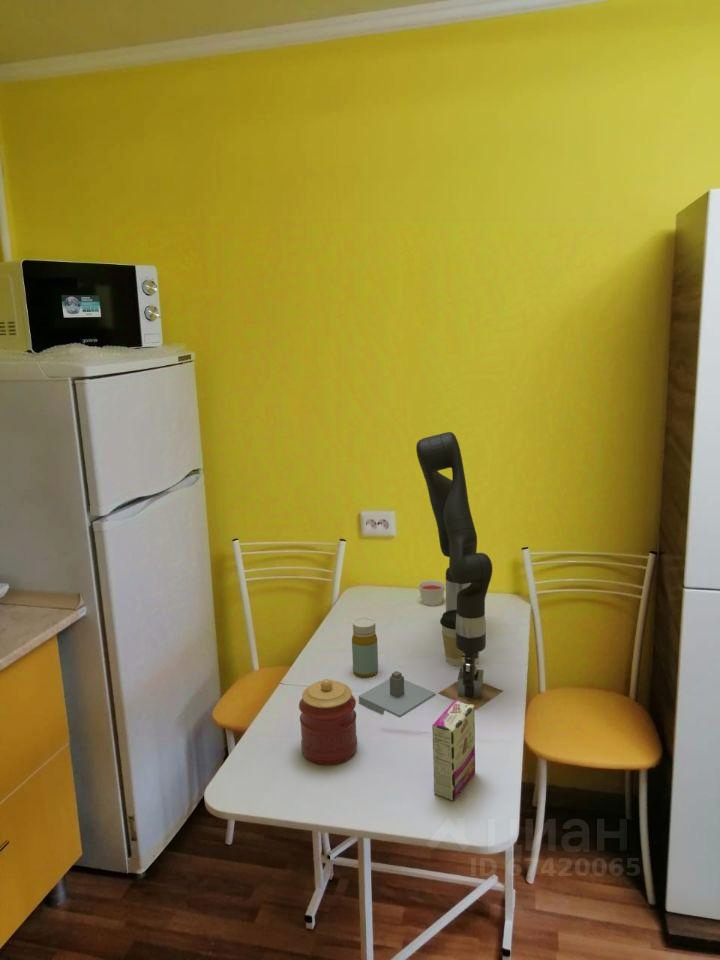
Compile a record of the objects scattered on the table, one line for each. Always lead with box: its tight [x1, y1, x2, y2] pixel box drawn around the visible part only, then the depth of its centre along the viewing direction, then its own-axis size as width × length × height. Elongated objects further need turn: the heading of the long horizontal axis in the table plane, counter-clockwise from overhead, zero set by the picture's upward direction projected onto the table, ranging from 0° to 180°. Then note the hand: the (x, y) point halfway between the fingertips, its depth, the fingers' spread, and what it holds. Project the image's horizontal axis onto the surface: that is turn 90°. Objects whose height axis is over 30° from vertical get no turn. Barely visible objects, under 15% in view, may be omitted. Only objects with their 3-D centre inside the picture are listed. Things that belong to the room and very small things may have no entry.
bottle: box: [351, 617, 379, 678], centre depth 201 cm, size 7×7×15 cm
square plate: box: [358, 670, 437, 718], centre depth 186 cm, size 14×14×8 cm
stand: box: [437, 675, 504, 711], centre depth 187 cm, size 12×12×6 cm
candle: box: [418, 579, 446, 607], centre depth 249 cm, size 9×9×6 cm
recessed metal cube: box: [457, 667, 485, 699], centre depth 186 cm, size 6×6×5 cm
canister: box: [298, 678, 358, 766], centre depth 165 cm, size 13×13×18 cm
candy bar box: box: [431, 700, 476, 801], centre depth 152 cm, size 11×5×16 cm, turn 148°
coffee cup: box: [439, 610, 463, 667], centre depth 203 cm, size 10×10×15 cm
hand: (470, 689), depth 187 cm, fingers open, 7 cm apart
